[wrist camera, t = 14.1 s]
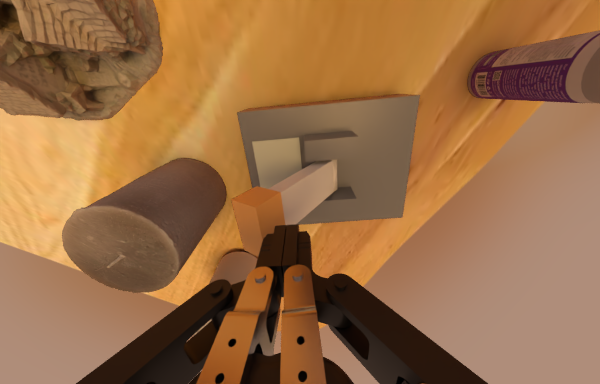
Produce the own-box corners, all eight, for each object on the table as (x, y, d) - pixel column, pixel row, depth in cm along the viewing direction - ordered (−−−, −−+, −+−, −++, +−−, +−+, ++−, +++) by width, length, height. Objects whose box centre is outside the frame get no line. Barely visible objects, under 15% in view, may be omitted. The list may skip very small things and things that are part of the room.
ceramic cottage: (30, 107, 26) (-254, 120, 12) (-9, -77, 20) (-685, -474, 6) (166, 140, 28) (57, 181, 15) (170, -13, 22) (-12, -185, 9)
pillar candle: (192, 227, 34) (120, 319, 20) (143, 178, 30) (15, 251, 16) (241, 198, 31) (197, 280, 18) (194, 142, 28) (94, 191, 14)
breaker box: (248, 108, 26) (227, 115, 19) (398, 94, 25) (437, 95, 18) (266, 207, 32) (256, 242, 25) (387, 198, 31) (413, 231, 24)
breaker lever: (322, 151, 23) (231, 199, 14) (343, 153, 22) (255, 207, 13) (324, 187, 25) (244, 249, 16) (343, 191, 24) (266, 261, 15)
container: (497, 100, 25) (724, 113, 12) (459, 95, 25) (646, 101, 11) (520, 54, 23) (827, 5, 10) (479, 48, 23) (734, -12, 9)
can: (214, 250, 36) (177, 320, 25) (258, 245, 35) (238, 314, 24) (228, 282, 39) (200, 356, 28) (268, 277, 38) (255, 351, 27)
